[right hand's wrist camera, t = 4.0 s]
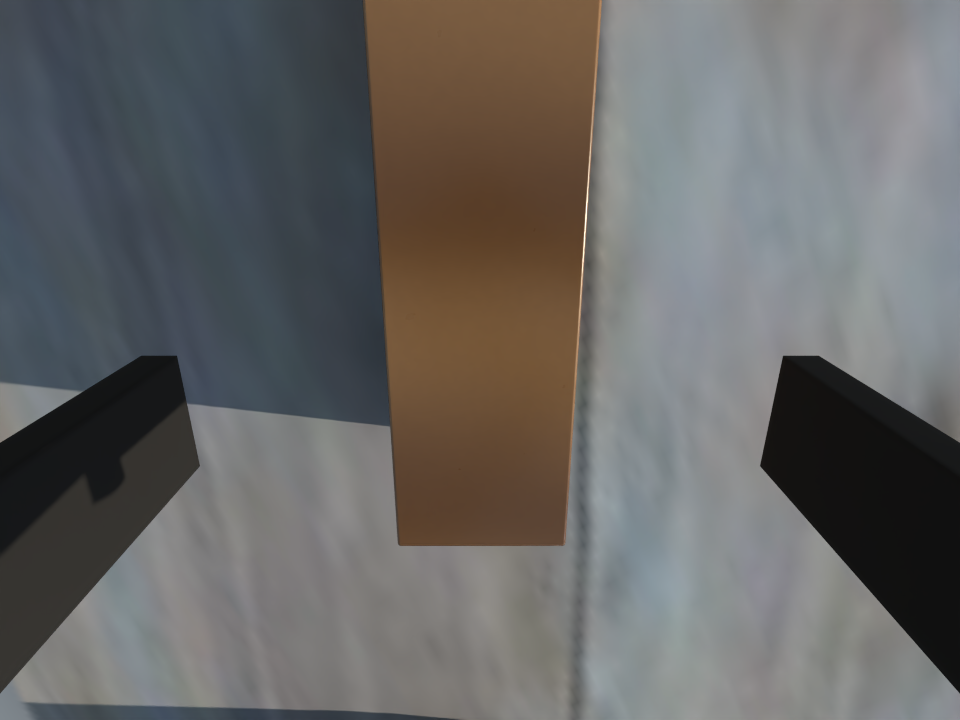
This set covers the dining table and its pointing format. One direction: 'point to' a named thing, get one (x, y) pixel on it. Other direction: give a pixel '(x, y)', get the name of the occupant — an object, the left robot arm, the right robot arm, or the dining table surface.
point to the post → (481, 256)
